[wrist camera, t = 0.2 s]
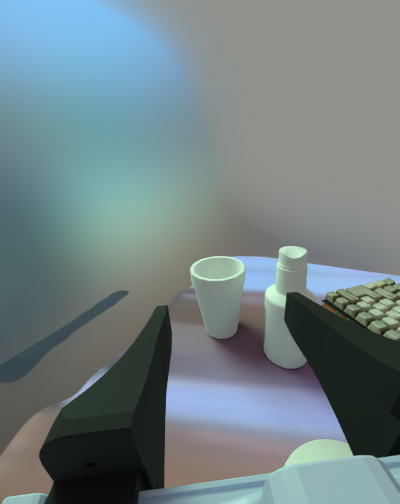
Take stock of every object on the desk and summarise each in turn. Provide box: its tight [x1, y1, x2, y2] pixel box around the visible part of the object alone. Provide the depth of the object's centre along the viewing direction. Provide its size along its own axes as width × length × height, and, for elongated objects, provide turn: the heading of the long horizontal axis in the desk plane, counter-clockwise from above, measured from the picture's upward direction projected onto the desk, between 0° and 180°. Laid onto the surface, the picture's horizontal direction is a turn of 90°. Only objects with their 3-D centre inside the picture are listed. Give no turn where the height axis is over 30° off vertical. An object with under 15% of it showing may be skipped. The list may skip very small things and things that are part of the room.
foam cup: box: [190, 256, 245, 339], centre depth 40 cm, size 10×9×13 cm
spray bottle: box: [263, 246, 316, 369], centre depth 32 cm, size 7×7×18 cm
